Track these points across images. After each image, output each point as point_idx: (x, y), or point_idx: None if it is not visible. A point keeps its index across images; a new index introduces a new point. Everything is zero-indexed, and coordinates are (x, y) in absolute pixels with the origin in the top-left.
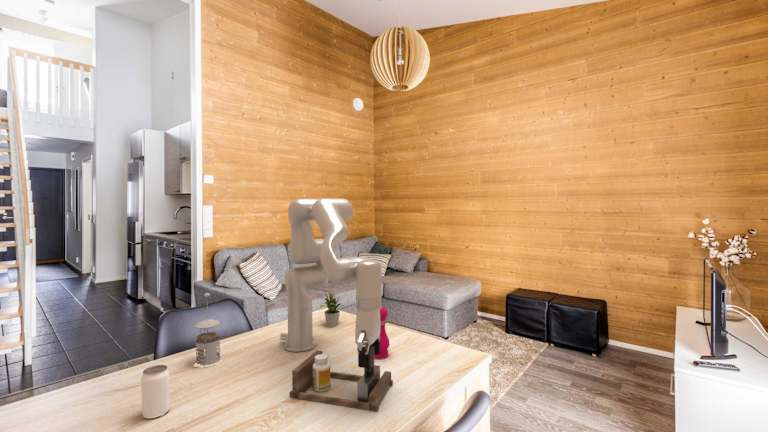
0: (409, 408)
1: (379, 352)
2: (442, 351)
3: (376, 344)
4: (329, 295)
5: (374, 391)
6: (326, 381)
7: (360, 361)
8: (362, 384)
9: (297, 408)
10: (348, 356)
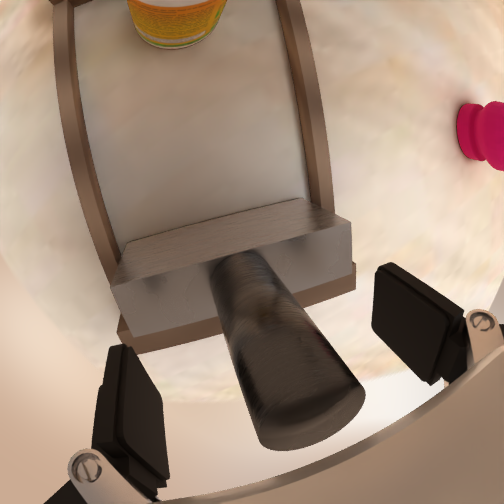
0: (212, 380)
1: (382, 336)
2: (488, 276)
3: (419, 358)
4: None
5: (160, 333)
6: (157, 32)
7: (97, 407)
8: (122, 311)
9: (7, 65)
10: (434, 30)
